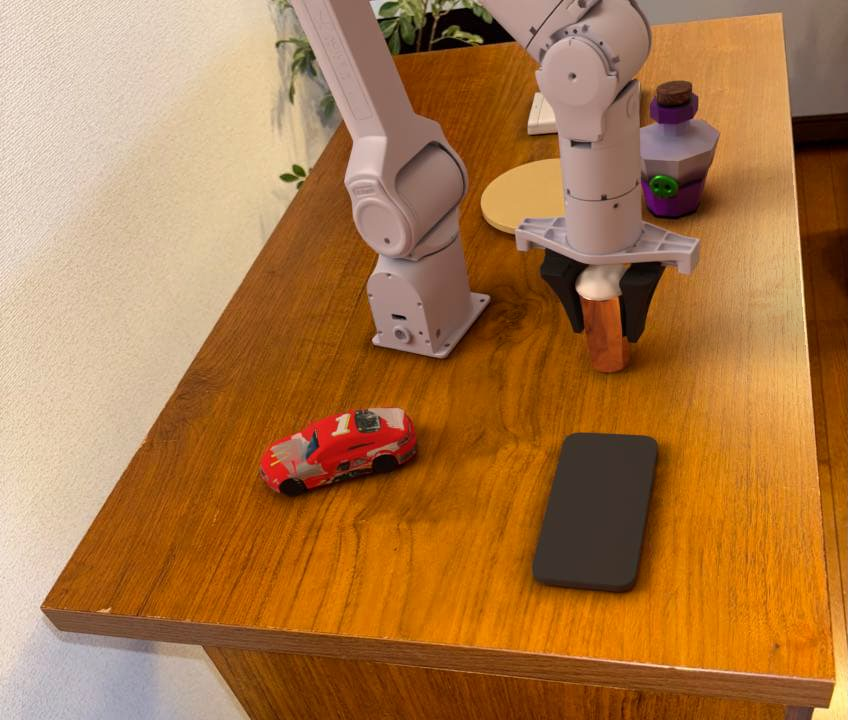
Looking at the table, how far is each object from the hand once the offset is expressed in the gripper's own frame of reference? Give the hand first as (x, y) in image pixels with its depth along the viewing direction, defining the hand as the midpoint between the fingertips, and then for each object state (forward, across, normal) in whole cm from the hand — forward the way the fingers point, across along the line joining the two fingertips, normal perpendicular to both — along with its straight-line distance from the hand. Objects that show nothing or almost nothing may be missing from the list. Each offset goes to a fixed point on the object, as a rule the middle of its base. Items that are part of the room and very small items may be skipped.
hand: (609, 331), depth 82 cm
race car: (+3, +16, +19) cm, 25 cm away
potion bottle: (+3, +3, -25) cm, 25 cm away
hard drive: (+3, +20, -41) cm, 46 cm away
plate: (+3, +16, -22) cm, 27 cm away
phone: (+3, -6, +17) cm, 18 cm away
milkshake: (+3, 0, 0) cm, 3 cm away
